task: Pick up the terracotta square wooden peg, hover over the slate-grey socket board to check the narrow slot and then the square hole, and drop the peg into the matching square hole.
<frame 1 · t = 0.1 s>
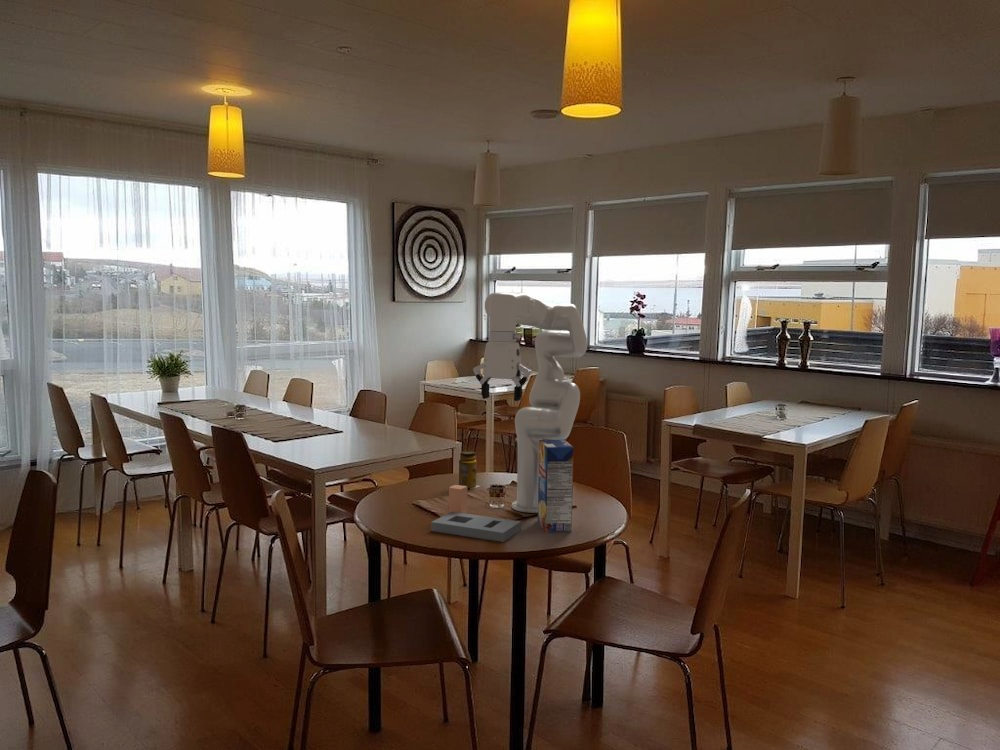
hand: (501, 399, 212), 37 cm above the table, tool pointing down, fingers open, 9 cm apart
square peg: (457, 516, 227), on the table
socket board: (476, 530, 213), on the table
condiment: (465, 487, 264), on the table
juice carton: (554, 526, 218), on the table
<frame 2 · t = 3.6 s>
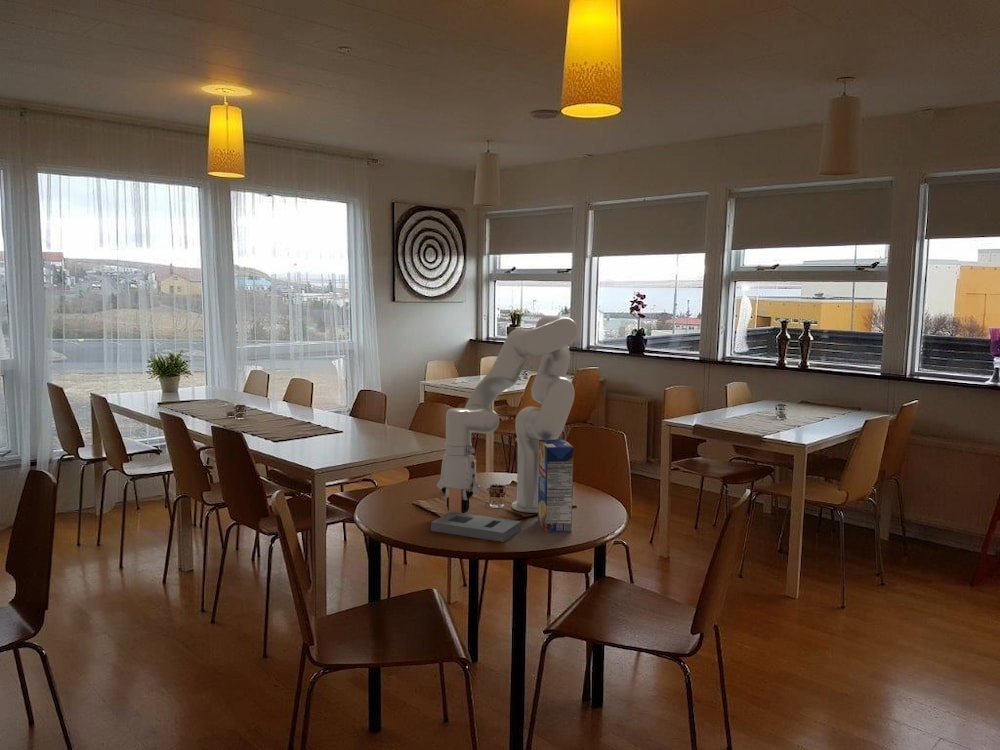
hand: (457, 510, 226), 2 cm above the table, tool pointing down, fingers closed on square peg, 4 cm apart
square peg: (457, 516, 227), on the table, touching gripper
everything else where it was.
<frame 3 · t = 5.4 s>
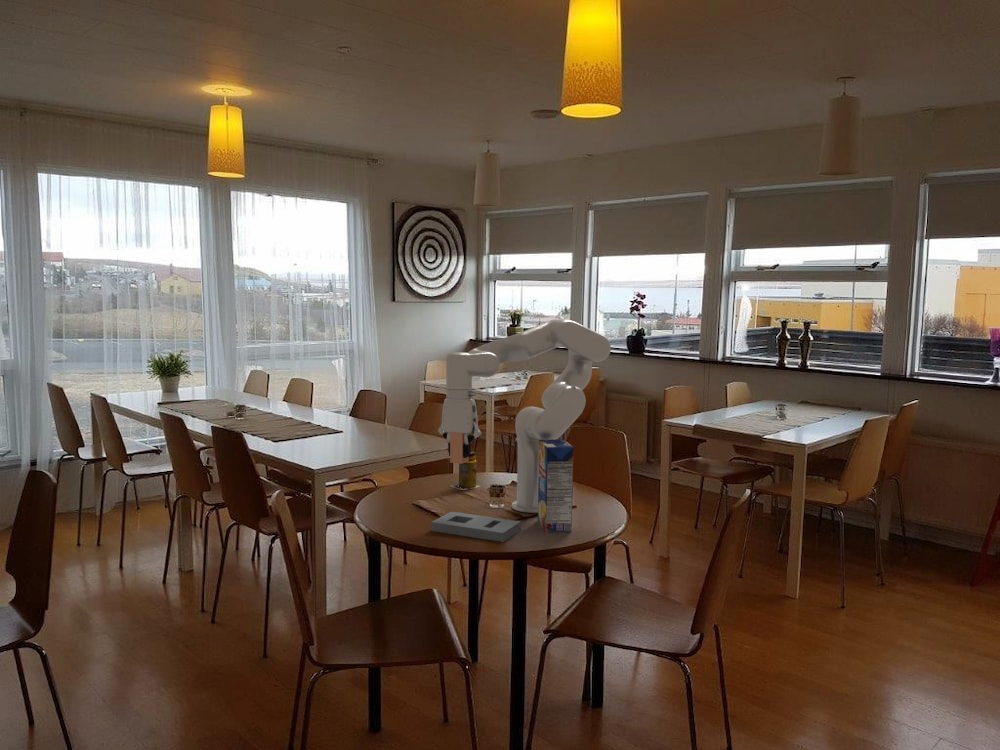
hand: (459, 455, 225), 18 cm above the table, tool pointing down, fingers closed on square peg, 4 cm apart
square peg: (459, 461, 225), point 17 cm above the table, touching gripper
everything else where it was.
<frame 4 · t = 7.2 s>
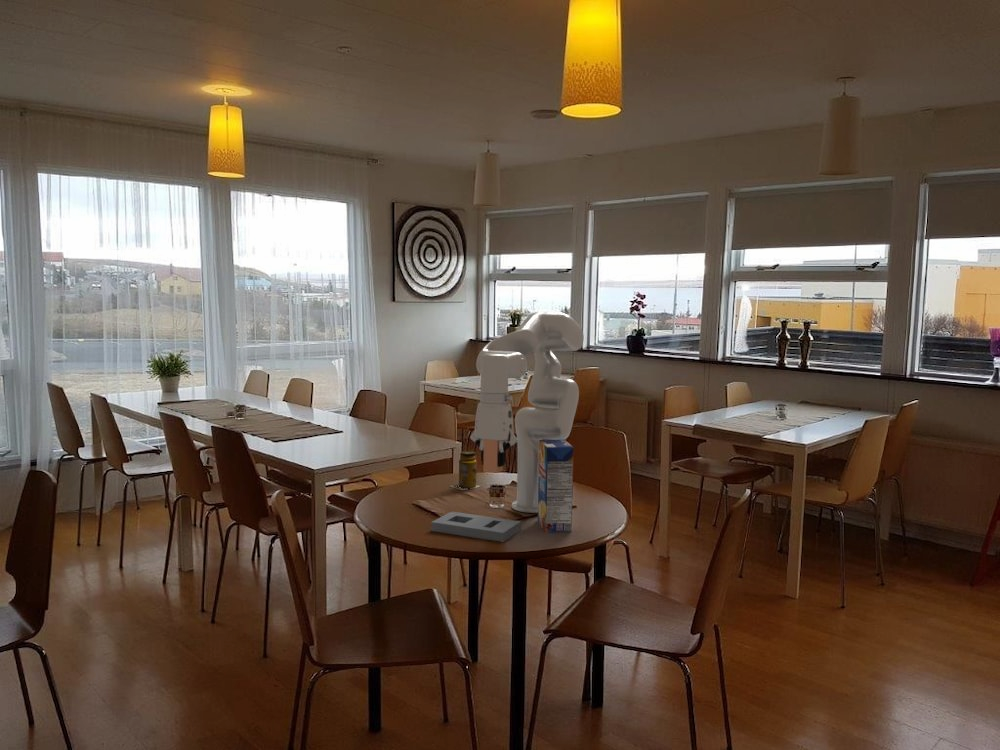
hand: (493, 464, 209), 19 cm above the table, tool pointing down, fingers closed on square peg, 4 cm apart
square peg: (493, 470, 209), point 17 cm above the table, touching gripper
everything else where it was.
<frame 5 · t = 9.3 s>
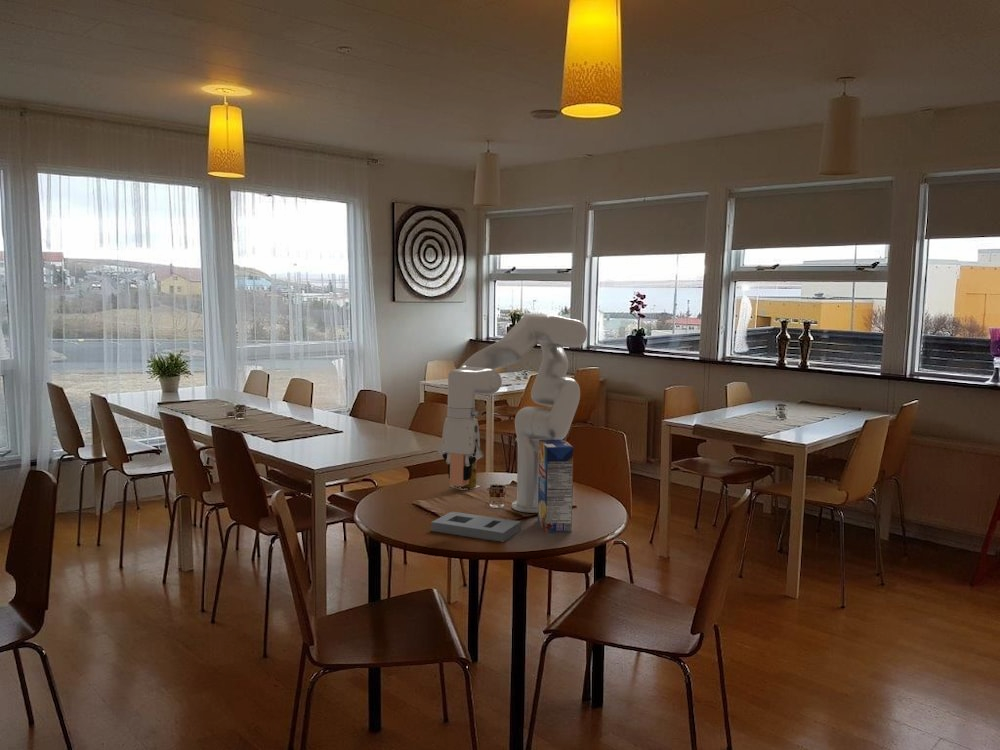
hand: (459, 477, 213), 14 cm above the table, tool pointing down, fingers closed on square peg, 4 cm apart
square peg: (459, 484, 213), point 13 cm above the table, touching gripper
everything else where it was.
when the fingers open (3 cm above the table, at t = 11.2 s): square peg drops 1 cm, resting in socket board.
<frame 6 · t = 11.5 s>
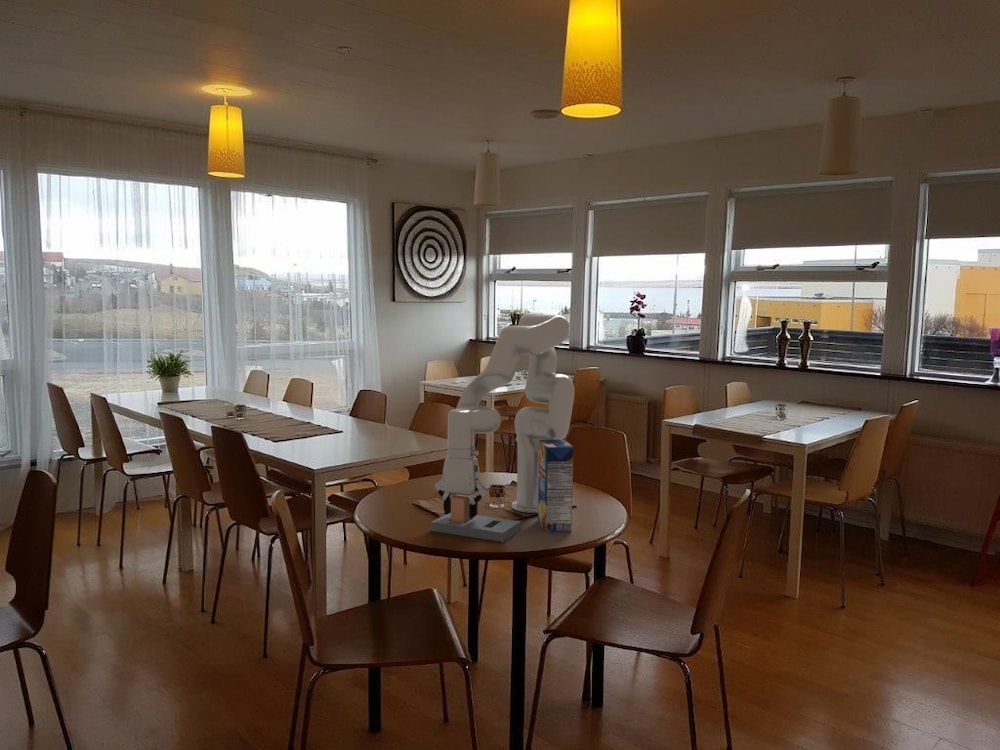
hand: (460, 514, 215), 4 cm above the table, tool pointing down, fingers open, 7 cm apart
square peg: (460, 528, 215), resting in socket board
everything else where it was.
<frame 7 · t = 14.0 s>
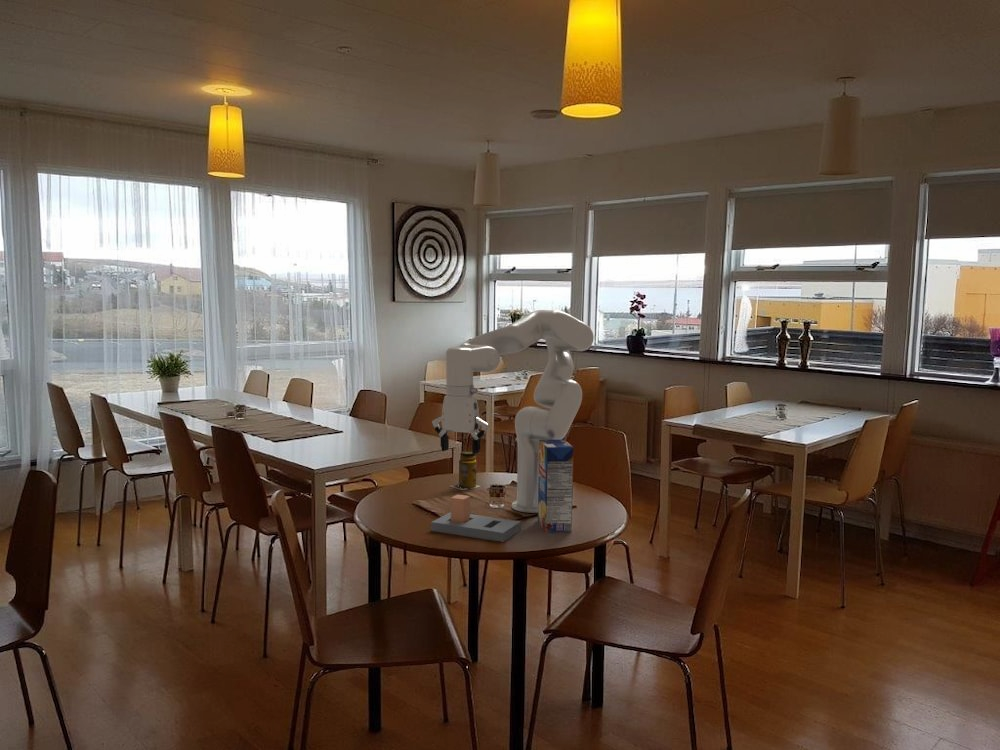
hand: (460, 451, 215), 21 cm above the table, tool pointing down, fingers open, 9 cm apart
nothing on the table moved.
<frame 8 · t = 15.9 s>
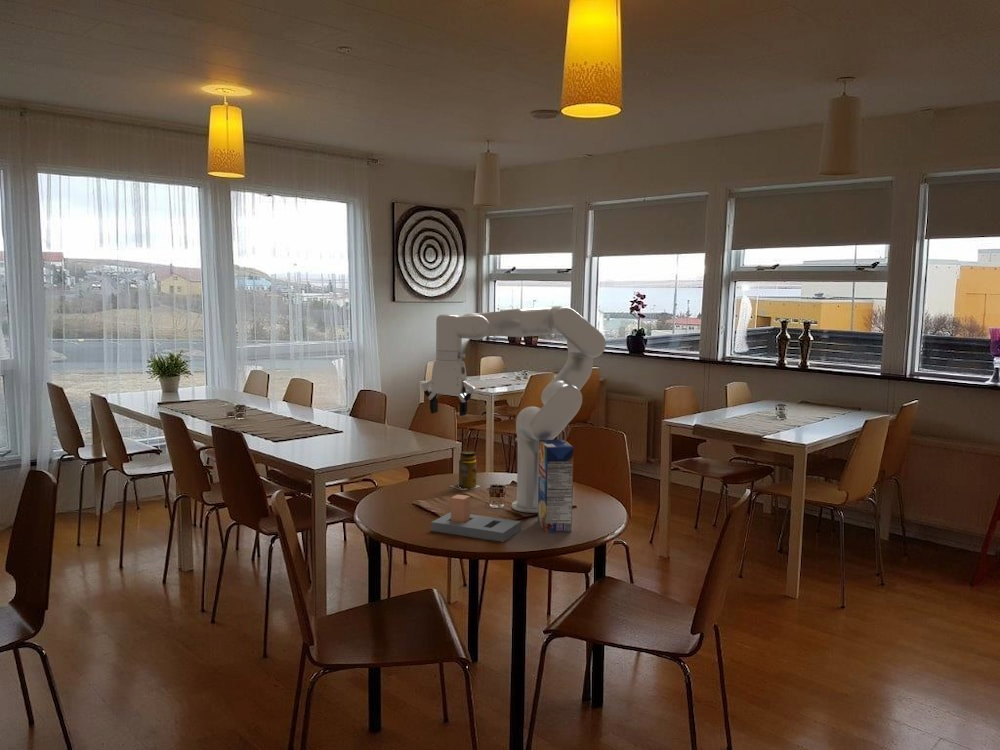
hand: (448, 414, 226), 30 cm above the table, tool pointing down, fingers open, 9 cm apart
nothing on the table moved.
at the end: square peg 0.0 cm from the target spot on the socket board, point 0.0 cm above the socket board's base; square peg tilted 0°; the gripper is holding nothing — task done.
